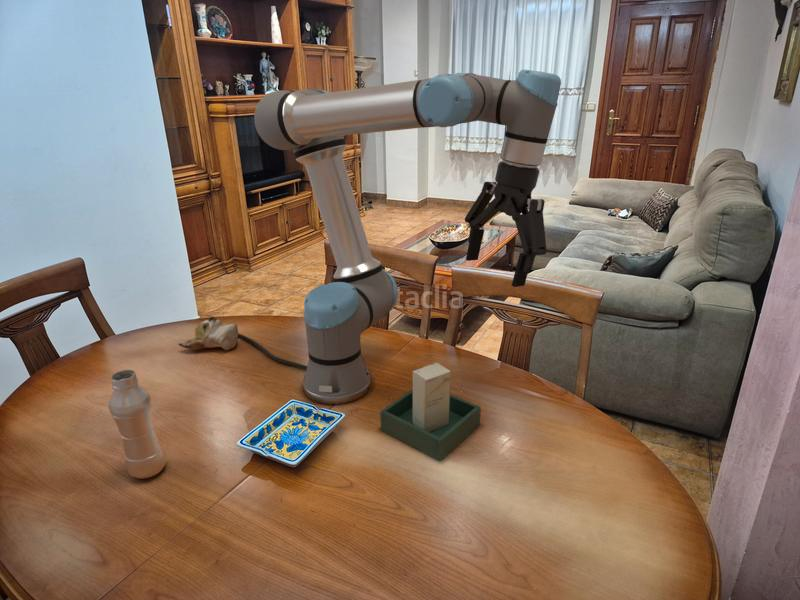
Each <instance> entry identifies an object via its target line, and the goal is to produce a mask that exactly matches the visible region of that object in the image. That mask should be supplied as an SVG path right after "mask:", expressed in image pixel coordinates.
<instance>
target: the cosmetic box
mask: <svg viewBox="0 0 800 600" xmlns="http://www.w3.org/2000/svg"><path fill="white" fill-rule="evenodd" d="M412 389H413V424H414V425H415V426H417V427H419V428H421V429H423V430H425V431H427V432H431V431H433V430H435V429H438V428H440V427H443V426H445V425H447V424H449V401H450V394H451V370H450V369H449V368H447V367H445V366H444V365H442V364H441V363H439V362H434V363H431V364H428V365H425V366H423V367H420V368H417V369H414V370H412Z"/></svg>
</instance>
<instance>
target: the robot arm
mask: <svg viewBox="0 0 800 600" xmlns="http://www.w3.org/2000/svg"><path fill="white" fill-rule="evenodd" d="M561 85H562V78H561V77H560V76H559V75H558V74H556V73H550V72H545V71H539V70H530V69H521V70H519V72H518V74H517V77H516V78H515V80H514V79H512V80H511V79H503V78H497V77H493V76H486V75H481V74H476V73H473V72H471V73H470V72H466V73H465V72H455V73H453V74H452V73H447V74H445V73H444V74H438V75H436V76H433V77H429V78H424V79H415V80H407V81H402V82H401V81H400V82H394V83H388V84H381V85H374V86H367V87H361V88H354V89H346V90H340V91H339V90H337V91H333V92H330V91H327V90H324V89H317V88H309V89H293V90H291V89H289V90H285V89H283V90H282V89H281V90H280V89H279V90H275V91H272V92H269V93H267V94H265V95H264V96H263V97H262V98H261V99H260V100H259V102H258V103H257V105H256V106H255V107H256V108H255V110H254V116H253V120H254V121H253V122H254V126H255V130H256V132H257V134H258V136H259V137H260V139H261V140H262V142H264V143H265V144H267V145H268V146H270V147H271V148H273V149H276V150H280V151H293V154H294V157H295V161H296V162H298V163H299V164H301V165H303V166H304V167H305V170H306V172H307V176H308V179H309V183H310V185H311V189H312V192H313V195H314V198H315V201H316V204H317V207H318V211H319V215H320V218H321V221H322V223H323V226H324V229H325V233H326V236H327V239H328V242H329V245H330V250H331V252H332V256H333V259H334V262H335V265H336V270H335V272H334V274H333V276H332V277H333V282H328V283H327V284H325V283H323V284H320V285H318V286H316V287H314V288H313V289H311V290H310V291H309V292H308V293H307V294H306V296H305V298H304V302H303V308H304V309H303V319H304V325H305V334H306V343H307V352H308V353H307V354H308V361H307V365H305V364H301V363H297V362H295V361H290V360H286V359H283V358H279V357H278V356H275V355H274V354H272V353H271V352H269V351H268V350H267V349H266V348H265V347H263V346H262V345H261V344H259V343H258V342H257V341H255V340H253V339H252V338H250V337H248V336H246V335H244V334H242V333H240V332H238V338H240V339H243V340H244V341H246V342H248V343H250V344H251V345H253V346H254V347H255V348H257V349H258V350H260V351H261V352H262V353H263V354H264V355H265V356H266V357H268V358H269V359H271V360H273V361H275V362H278V363H280V364H283V365H288V366H291V367H295V368H297V369H302V370H305V371H306V372H305V374H304V377H303V379H302V385H303V386H302V387H303V392H304V394H305V396H306V397H307V398H309V400H311V401H313V402H316V403H319V404H322V405H323V404H324V405H342V404H346V403H351V402H354V401H356V400H358V399H360V398H362V397H364V395H366V394H367V393H368V391H369V390H370V388H371V385H372V383H371V381H372V380H371V374H370V372H369V369H368V366H367V364H366V361H365V360H364V357H363V354H362V343H361V335H362V333H364V332H365V331H366V330H368V329H370V328H371V327H372V326H373V325H374V324H376V323H377V322H379V321H380V320H382V319H384V318H386V317H387V315H388V314H389V313H390V312H391V311H392V310H393V309H394V307H395V306H396V304H397V301H398V297H399V295H398V294H399V289H398V286H397V283H396V280H395V278H394V277H393V275H392V274H390V273H389V272H388V271H387V270H385V269H384V268H383V266H382V262H381V261H380V260H378V259H376V258H374V257H373V254H372V251H371V249H370V244H369V241H368V237H367V235H366V231H365V228H364V225H363V221H362V218H361V214H360V211H359V208H358V204H357V201H356V197H355V194H354V191H353V187H352V185H351V184H352V183H351V180H350V177H349V173H348V171H347V167H346V164H345V160H344V156H343V154H344V152H345V150H346V149H347V143H346V140H345V136H350V135H361V134H372V133H382V132H393V131H403V130H412V129H413V130H415V129H424V128H437V127H439V128H450V127H455V126H457V125H461V124H468V123H472V122H484V123H491V124H496V125H499V126H506V127H505V128H506V129H505V133H504V138H503V142H502V146H501V150H500V155H499V158H500V159H501V160H502V161H499V162H498V164H497V168H496V173H495V177H494V181H484V182H483V184H482V187H481V188H482V189H481V191H480V193H479V194H478V197H476V199H475V201H474V203H473V204H472V206H471V207H470V209H469V211H468V212H467V214H466V215H465V217H464V222H465V223H467V224H468V225H469V229H470V230H469V234H468V238H467V242H468V245H467V252H466V256H465V260H466V261H468V262H470V261H479V256H480V251H481V247H482V243H483V238H484V234H485V229H483V228H485V225H486V224H487V223H489V221H490V220H492V219H493V218H494V217H495V216H496V215H498V213H503V214H505V215H506V216H509V217H511V219H512V221H514V224H515V226H516V229H517V234H518V236H519V240H520V243H521V246H522V251H523V252H519V255H518V259H517V263H516V265H515V270H514V274H513V278H512V281H511V286H512V287H513V288H517V287H525V285H526V281H527V279H528V278H527V277H528V274H529V272H532V269H533V266H534V263H535V258H536V256H543V255H546V254H547V251H548V249H547V242H546V241H547V240H546V230H545V219H544V210H545V209H544V208H545V200H544V199H543V198H532V192H533V190H534V189H536V186H537V182H538V179H539V175H540V171H541V170H540V169H539V168H538V167H540V166H541V165H542V163H543V158H544V156H545V151H546V147H547V143H548V140H549V135H550V131H551V127H552V124H553V120H554V117H555V115H556V114H555V113H556V110H557V107H558V104H559V103H558V102H559V101H558V100H559V95H560V90H561ZM493 197H494V198H493Z"/></svg>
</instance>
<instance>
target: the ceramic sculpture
mask: <svg viewBox="0 0 800 600" xmlns="http://www.w3.org/2000/svg"><path fill="white" fill-rule="evenodd" d="M238 333H239V329H238V324H237V323H230V324H224V323H223V322H222V321H221V320H220V319H219V318H216V317H208V319H206V320H204V321H202V322H200V323H199V324H198V325H197V326H196V327H195V330H194V337H193V338H189V339H188V340H186V341H185V342H180V343H178V346H180V347H182V348H185V349H188V350H199V349H203V348H207V349H212V348H213V349H214V348H222V349H223V350H224V351H229V350H231V349H232V350H233V349H234V348H235V347H236V344H237V342H238V338H239V337H238Z"/></svg>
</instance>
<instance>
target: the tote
mask: <svg viewBox="0 0 800 600" xmlns="http://www.w3.org/2000/svg"><path fill="white" fill-rule="evenodd" d="M481 411H482V406H480V405H477V404H475V403H473V402H470V401H467V400H466V399H463V398H460V397H458V396H456V395H454V394H451V393H450V401H449V424H447V425H445V426H443V427H440V428H438V429H435V430H433V431H431V432H427V431H425V430H423V429H421V428H419V427H417V426H415V425H414V424H413V388H411V390H409V391H408V392H406V393H405V394H403V395H402V396H400V397H399V398H397V399H396V400H394V401H393V402H392V403H390V404H389V405H387V406H385V407H384V408H382V410H380V411H379V412H380V413H379V414H380V430H381V432H383V433H386V434H388V435H390V436H392V437H394V438H396V439H397V440H399V441H401V442H403V443H405V444H407V445H409V446H411V447H413V448H414V449H416V450H418V451H420V452H422V453H424V454H426V455H428V456H429V457H431V458H433V459H435V460H437V461H440V462H441V461H442V460H443V459H445V458H446V457H447V456H448V455H449V454H450V453H451V452H452V451H453V450H454V449H455V448H456V447H457V446H459V445H460V444H461V443H462V442H463V441H465V440H466V438H468V437H469V436H470V435H472V434H473V432H474V431H476V430H477V429H479V427H480V426H481Z"/></svg>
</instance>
